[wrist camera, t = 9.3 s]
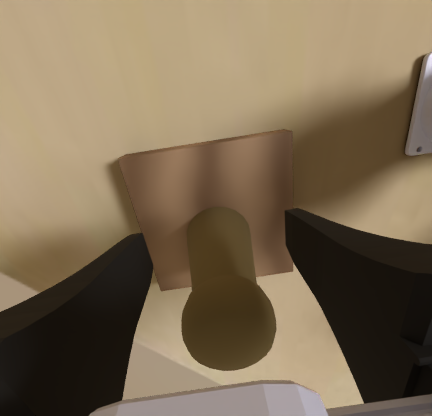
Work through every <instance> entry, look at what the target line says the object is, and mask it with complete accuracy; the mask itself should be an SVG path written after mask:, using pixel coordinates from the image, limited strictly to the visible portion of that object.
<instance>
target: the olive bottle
mask: <svg viewBox="0 0 432 416" xmlns="http://www.w3.org/2000/svg"><path fill="white" fill-rule="evenodd" d="M187 246H188V256H189V265H190V275H191V284H192V292H191V293H190V295H189V298H188V300H187V302H186V305H185V307H184V309H183V313H182V336H183V341H184V343H185V345H186V347H187V349H188V351H189V352H190V354H191V356H192V357H193V358H194V359H195V360H196V361H197V362H199V363H200V364H202V365H204V366H207V367H209V368H212V369H217V370H222V371H231V370H238V369H243V368H246V367H248V366H251V365H253V364H255V363H257V362H258V361H259V360H261V359H262V358H263V357H265V356H266V355H267V353H268V352H269V350H270V349H271V348H272V344H273V341H274V337H275V333H276V319H275V314H274V310H273V307H272V304H271V302H270V300H269V299H268V297H267V296H266V294H265V293H264V292H263V290H262V289H261V288H260V286H259V285H257V283H256V274H255V266H254V258H253V250H252V241H251V233H250V228H249V224H248V222H247V221H246V219H245V218H244V216H242V215H241V214H240V213H238V212H237V211H236V210H233V209H230V208H227V207H212V208H209V209H205V210H203V211H202V212H200V213H199V214H197V215H196V216H195V217H194V218H193V219H192V221H191V222H190V224H189V226H188V229H187Z"/></svg>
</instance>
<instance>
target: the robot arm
mask: <svg viewBox="0 0 432 416" xmlns="http://www.w3.org/2000/svg"><path fill="white" fill-rule="evenodd" d="M418 147H419V148H418ZM417 148H418V150H417ZM405 153H406V155H409V156H414V155H420V154H427V153H432V52H430V53H428V54H427V55H426V56H425V57H424V59H423V63H422V68H421V73H420V78H419V83H418V88H417V93H416V99H415V104H414V109H413V114H412V119H411V124H410V129H409V134H408V139H407V144H406V149H405ZM285 243H286V247H287V249H288V252H289V254H290V256H291V258H292V261H293V262H294V264H295V266H296V267H297V269H298V271H299V272H300V274H301V275H302V277H303V279H304V280H305V282H306V283H307V285H308V286H309V288H310V290H311V291H312V293H313V294H314V296H315V298H316V299H317V301H318V303H319V305H320V306H321V308H322V310H323V312H324V314H325V316H326V319H327V321H328V323H329V325H330V327H331V329H332V331H333V333H334V335H335V337H336V340H337V342H338V344H339V346H340V348H341V350H342V353H343V355H344V357H345V359H346V362H347V364H348V366H349V368H350V371H351V373H352V375H353V378H354V380H355V382H356V385H357V387H358V389H359V392H360V394H361V397H362V399H363V402H364V404H359V405H351V406H344V407H337V408H330V409H325V406H324V404H323V402H322V399H321V397H320V395H319V394H318V393H316V392H314V391H313V390H311V389H309V388H306V387H304V386H302V385H299V384H297V383H295V382H293V381H286V380H259V381H252V382H246V383H239V384H232V385H225V386H218V387H211V388H205V389H197V390H191V391H183V392H177V393H170V394H163V395H156V396H150V397H142V398H135V399H128V400H123V401H122V397H123V391H124V385H125V379H126V374H127V369H128V363H129V358H130V353H131V348H132V344H133V339H134V334H135V331H136V327H137V324H138V321H139V318H140V315H141V311H142V308H143V305H144V302H145V299H146V296H147V293H148V290H149V287H150V283H151V278H152V272H153V262H152V259H151V256H150V253H149V250H148V247H147V244H146V241H145V239H144V236H143V233H138V234H132V235H129V236H127V237H126V238H124V239H123V240H121V241H120V242H119V243H117V244H116V245H115V246H113V247H112V248H111V249H109V250H108V251H106V252H105V253H104V254H102V255H101V256H100V257H98V258H97V259H95V260H94V261H92V262H91V263H90V264H88V265H87V266H85V267H84V268H82V269H81V270H79V271H78V272H76V273H75V274H73V275H71V276H70V277H68V278H66V279H65V280H63V281H61V282H60V283H58V284H56V285H54V286H53V287H51V288H49V289H47V290H45V291H43V292H41V293H39V294H37V295H35V296H34V297H31V298H29V299H27V300H26V301H23V302H21V303H19V304H17V305H15V306H13V307H11V308H8V309H6V310H4V311H2V312H0V416H432V245H430V244H423V243H416V242H410V241H404V240H399V239H394V238H388V237H384V236H379V235H375V234H371V233H367V232H364V231H360V230H356V229H353V228H350V227H347V226H344V225H341V224H338V223H335V222H333V221H330V220H327V219H325V218H322V217H319V216H317V215H314V214H312V213H309V212H307V211H304V210H301V209H298V208H296V209H289V210H285Z"/></svg>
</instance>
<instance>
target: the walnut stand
mask: <svg viewBox="0 0 432 416" xmlns="http://www.w3.org/2000/svg"><path fill="white" fill-rule="evenodd" d="M118 162H119V165H120V168H121V171H122V174H123V177H124V180H125V183H126V186H127V189H128V192H129V195H130V198H131V202H132V205H133V208H134V211H135V214H136V217H137V220H138V223H139V226H140V229H141V232H142V233H143V236H144V239H145V241H146V244H147V247H148V250H149V253H150V256H151V259H152V262H153V268H154V271H155V275H156V278H157V281H158V284H159V287H160V290H161V291H165V290H172V289H179V288H185V287H192V284H191V275H190V265H189V256H188V246H187V229H188V226H189V224H190V222H191V221H192V219H193V218H194V217H195V216H196V215H197V214H199V213H200V212H202V211H203V210H205V209H209V208H212V207H227V208H230V209H233V210H236V211H237V212H238V213H240V214H241V215H242V216H244V218H245V219H246V221H247V222H248V224H249V228H250V233H251V241H252V250H253V258H254V266H255V274H256V277H259V276H266V275H273V274H279V273H286V272H293V261H292V258H291V256H290V254H289V252H288V249H287V247H286V243H285V210H289V209H293V145H292V131H289V130H285V129H283V130H277V131H270V132H264V133H258V134H251V135H245V136H239V137H233V138H226V139H220V140H214V141H207V142H201V143H195V144H189V145H182V146H176V147H170V148H163V149H157V150H151V151H145V152H138V153H132V154H126V155H124V156H122V157H120V158H118Z"/></svg>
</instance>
